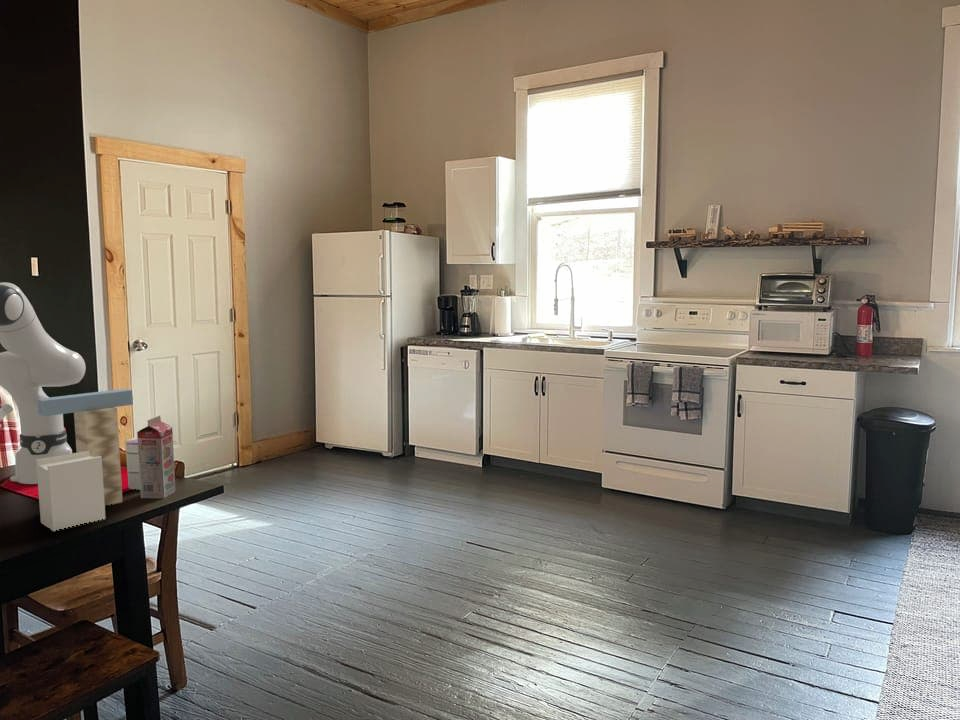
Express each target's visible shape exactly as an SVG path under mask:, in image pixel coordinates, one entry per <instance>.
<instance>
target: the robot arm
mask: <svg viewBox="0 0 960 720" xmlns="http://www.w3.org/2000/svg"><path fill="white" fill-rule="evenodd" d="M0 344H1V346H2V347H3V348H4V349H5V350H6V351H2V352H0V386H1V387H2V388H3V389H4V390H5V391H6V392H7V393H8V394H9V395H10V396H11V398H12V400H13V401H14V403H15V405H16V407H17V410H18V415H19V417H18V419H19V424H20V434H19V440H18V441H19V446H20V448H19V449H18V450H17V452H16V453H15V458H14V459H15V461H14V462H15V463H14V464H15V465H14V466H15V474H14V475H12V476H10V478H9V480H10V482H16V483H19V484H22V485H23V484H24V485H38V478H37V464H36V459H42V458H48V457H54V456H60V455H66V454H72V453H73V449H72V448H71V446H70V445H69V443H68V442H67V441H68V438H67V436H68V435H67V431H66V430H67V429H66V427H65V426H64V414H59V415H52V416H41V415H39V414H38V400H37V399H41V398H50V397H51V396H50V397H49V396H48V395H47V394H46V392H45V391H44V390H43V387H44V388H45V387H47V388H50V387H51V388H53V387H60V388H61V387H66V386H67V387H68V386H71V385H75V384H78V383H80V382H81V380H82V379H84V376H85V374H86V368H87V367H86V362H85V359H84V358H83V356H82V355H81V354H79V353H78V352H76V351H73V350H71V349H69V348H67V347H65V346H63V345H62V344H60V343H59V342H57V341H56V340H55V339H53V338H52V336H50V335H49V334H48V332H46V330H45V328H44V327H43V325H42V323H41V322H40V319H39V318H38V316H37V313H36V312H35V309H34V307H33V305H32V304H31V302H30V301H29V298H27V296H26V295H25V294H24V292H23V290H22V289H21V288H20V287H19V286H17V285H16V284H15V283H11V282H6V281H5V282H4V281H3V282H0ZM13 411H14V408H13V406H12V405H11V404H9V403H6V404H5V405H2V403H1V402H0V422H1V421H2V420H4V418H5V417H6V416H7V415H8V414H10V413H11V412H13ZM1 428H2V424H1V423H0V429H1Z"/></svg>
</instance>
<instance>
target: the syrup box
mask: <svg viewBox="0 0 960 720" xmlns="http://www.w3.org/2000/svg"><path fill="white" fill-rule="evenodd" d="M124 443H125V455H126V468H127V470H126V471H127V482H128V489H130V490H135V489H136V490H135V491H137V490H139V491H140V474H139V455H138V438H137V436H136V437H133V438H131V439H128V440H125V441H124Z"/></svg>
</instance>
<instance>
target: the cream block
mask: <svg viewBox="0 0 960 720" xmlns="http://www.w3.org/2000/svg"><path fill="white" fill-rule="evenodd" d="M36 464H37V478H38V484H37V489H38V500H39V501H38V503H39V512H40V513H39V514H40V515H39V516H40V517H39V519H40V523H41V524H42V525H44V526H45V527H47V528H48V529H49V528H50V529H49V530H51V532H56V530H57V531H60V530H59V529H62V530H65V529H64V528H66V529H69V528H68V527H70V528H73V527H72V526H74V527H77V526H76V525H78V526H81V525H80V524H83V525H85V524H84V523H87V524H90V523H89V522H91V523H94V521H95V522H99V521H103V520H106V506H105V503H104V487H103V471H102V457H101V456H98V457H91V456H90V453H89V451H83V452H77V451H76V452H72V454H66V455H60V456H54V457H48V458H42V459H36ZM102 519H103V520H102ZM98 520H99V521H98Z"/></svg>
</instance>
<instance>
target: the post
mask: <svg viewBox="0 0 960 720" xmlns="http://www.w3.org/2000/svg"><path fill="white" fill-rule="evenodd" d="M73 419H74V421H73V422H74V432H75V433H74V434H75V435H74V436H75V448H76V453H77V452H83V451H89V453H90V456H91V457H98V456H101V457H102V471H103V487H104V503H105V507H106V505H108V506H111V504H112V505H117V504H121V503H123V489H122V486H123V485H122V473H121V471H122V469H121V468H122V467H121V456H120V455H121V454H120V438H119V436H120V435H119V422H118V419H119V418H118V407H112V408H104V409H97V410H89V411H82V412H74V413H73Z"/></svg>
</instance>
